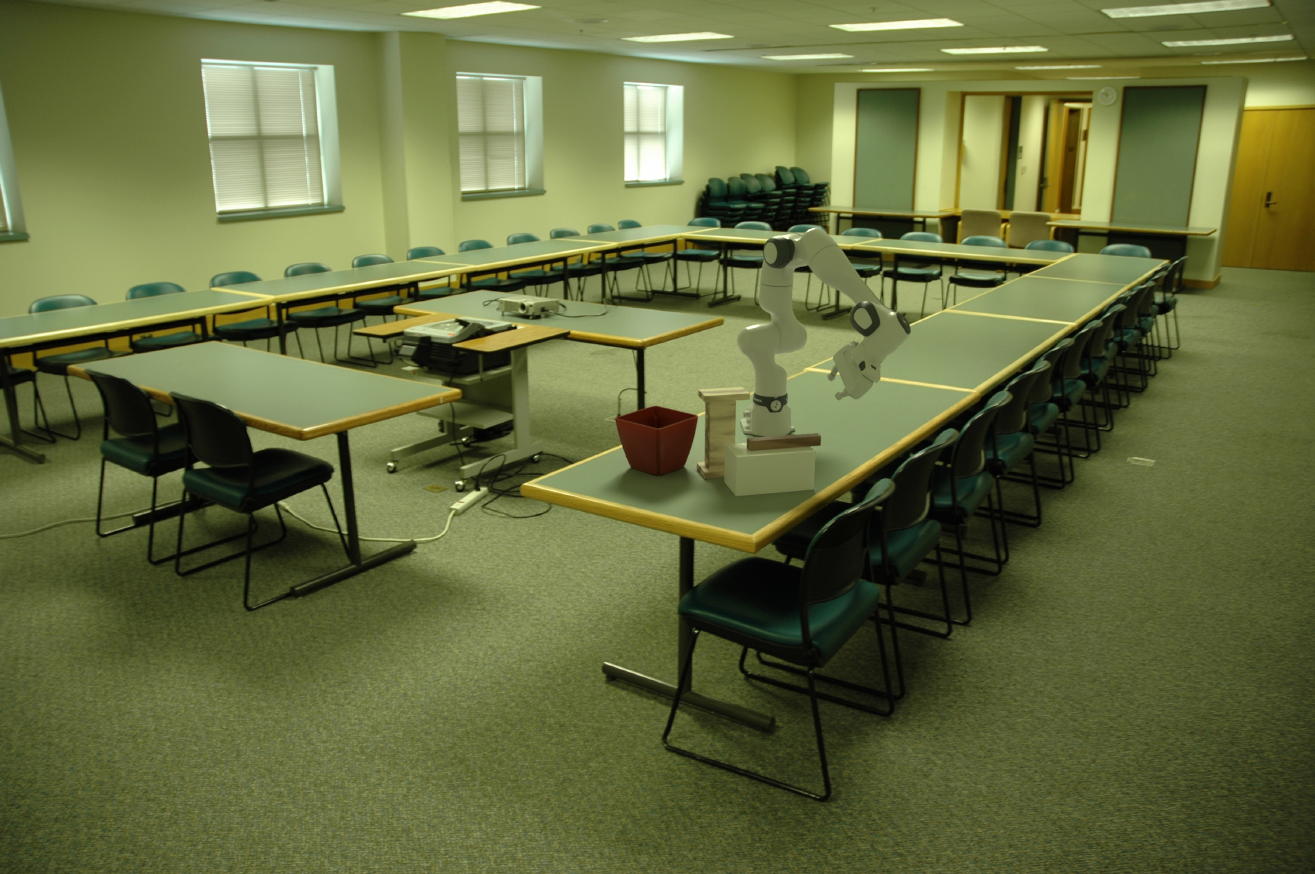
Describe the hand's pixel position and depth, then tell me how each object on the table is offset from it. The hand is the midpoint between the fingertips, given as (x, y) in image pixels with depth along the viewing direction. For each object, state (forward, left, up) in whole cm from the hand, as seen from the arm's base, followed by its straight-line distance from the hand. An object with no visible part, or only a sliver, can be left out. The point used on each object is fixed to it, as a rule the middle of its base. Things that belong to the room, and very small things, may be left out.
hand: (832, 388), depth 281 cm
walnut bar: (+10, -19, -14) cm, 26 cm away
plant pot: (-14, -52, -26) cm, 60 cm away
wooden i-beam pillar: (-5, -33, -26) cm, 43 cm away
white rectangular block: (+10, -23, -26) cm, 36 cm away
